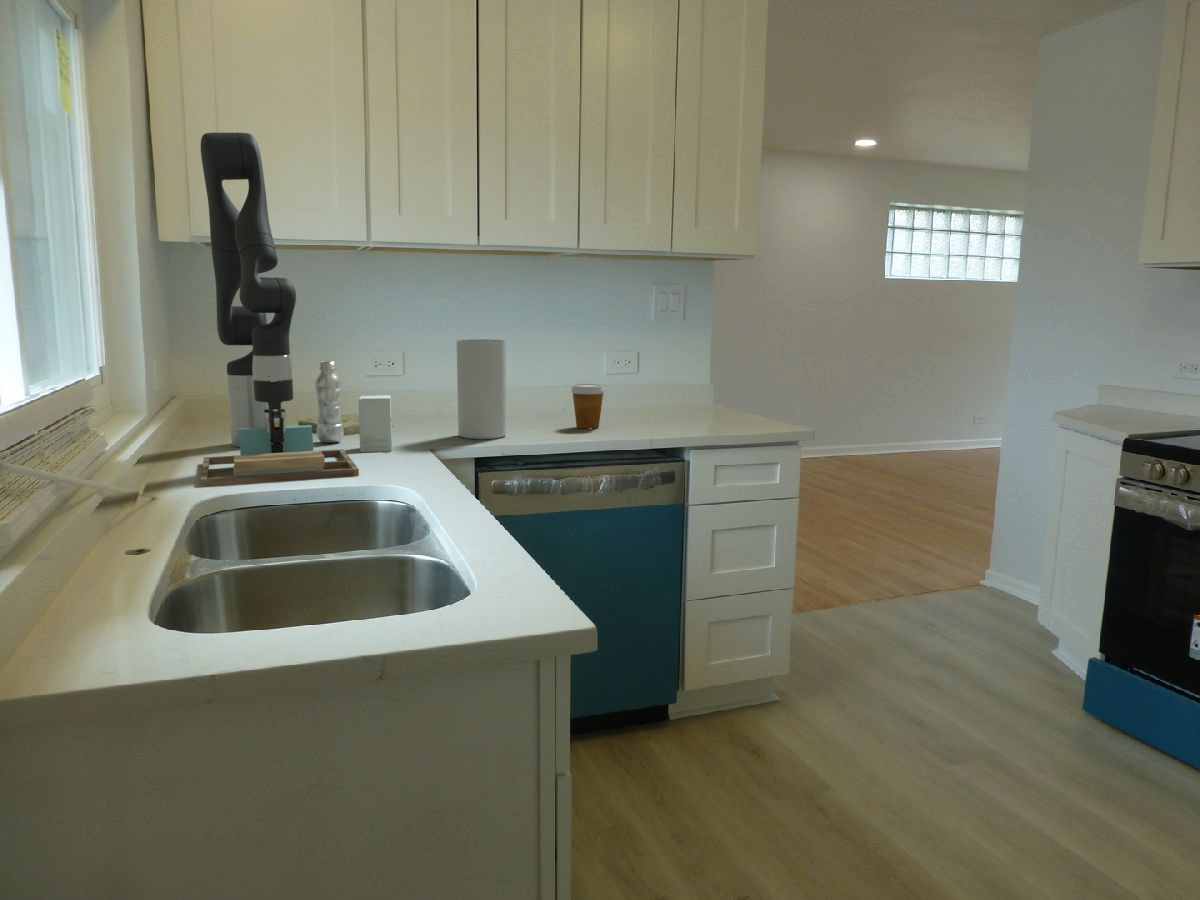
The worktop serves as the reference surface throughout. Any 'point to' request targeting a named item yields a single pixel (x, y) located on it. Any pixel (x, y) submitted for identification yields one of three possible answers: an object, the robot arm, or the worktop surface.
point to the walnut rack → (276, 477)
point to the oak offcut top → (278, 461)
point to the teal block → (260, 438)
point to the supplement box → (375, 423)
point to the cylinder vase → (481, 388)
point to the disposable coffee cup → (587, 404)
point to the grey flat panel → (277, 471)
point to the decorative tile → (348, 422)
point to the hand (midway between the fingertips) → (277, 460)
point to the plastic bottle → (328, 404)
